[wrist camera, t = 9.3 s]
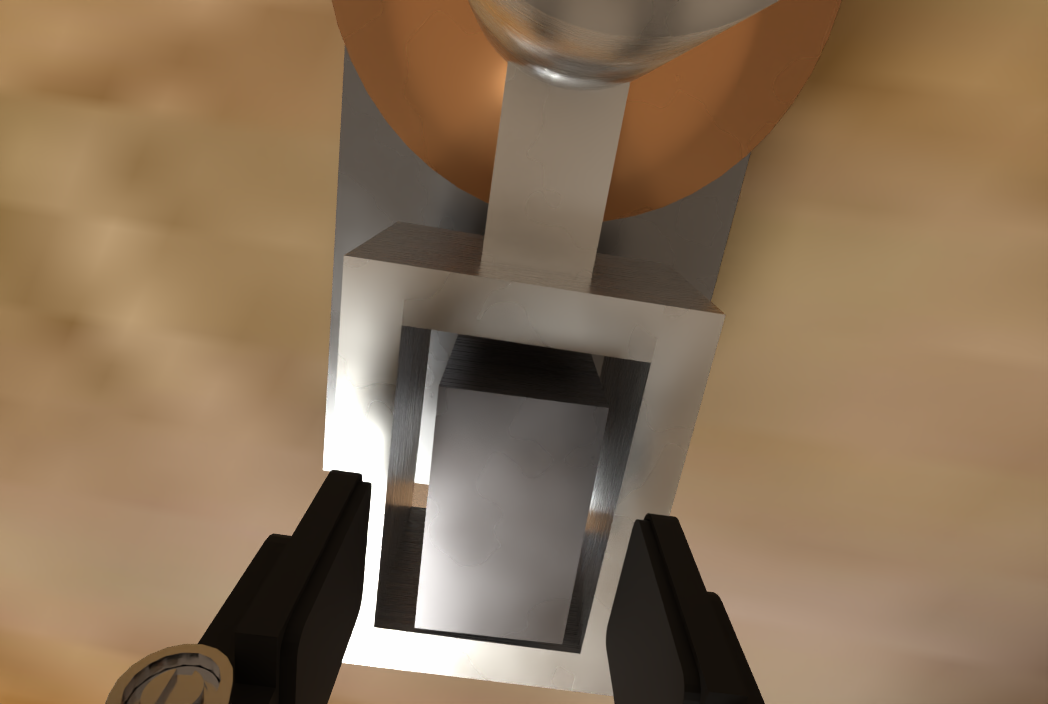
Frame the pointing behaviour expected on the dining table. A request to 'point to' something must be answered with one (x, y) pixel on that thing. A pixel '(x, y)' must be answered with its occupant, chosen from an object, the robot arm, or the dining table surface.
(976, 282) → the dining table surface
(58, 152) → the dining table surface
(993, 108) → the dining table surface
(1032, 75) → the dining table surface
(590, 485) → the grey block
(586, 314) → the grey boxy fixture
